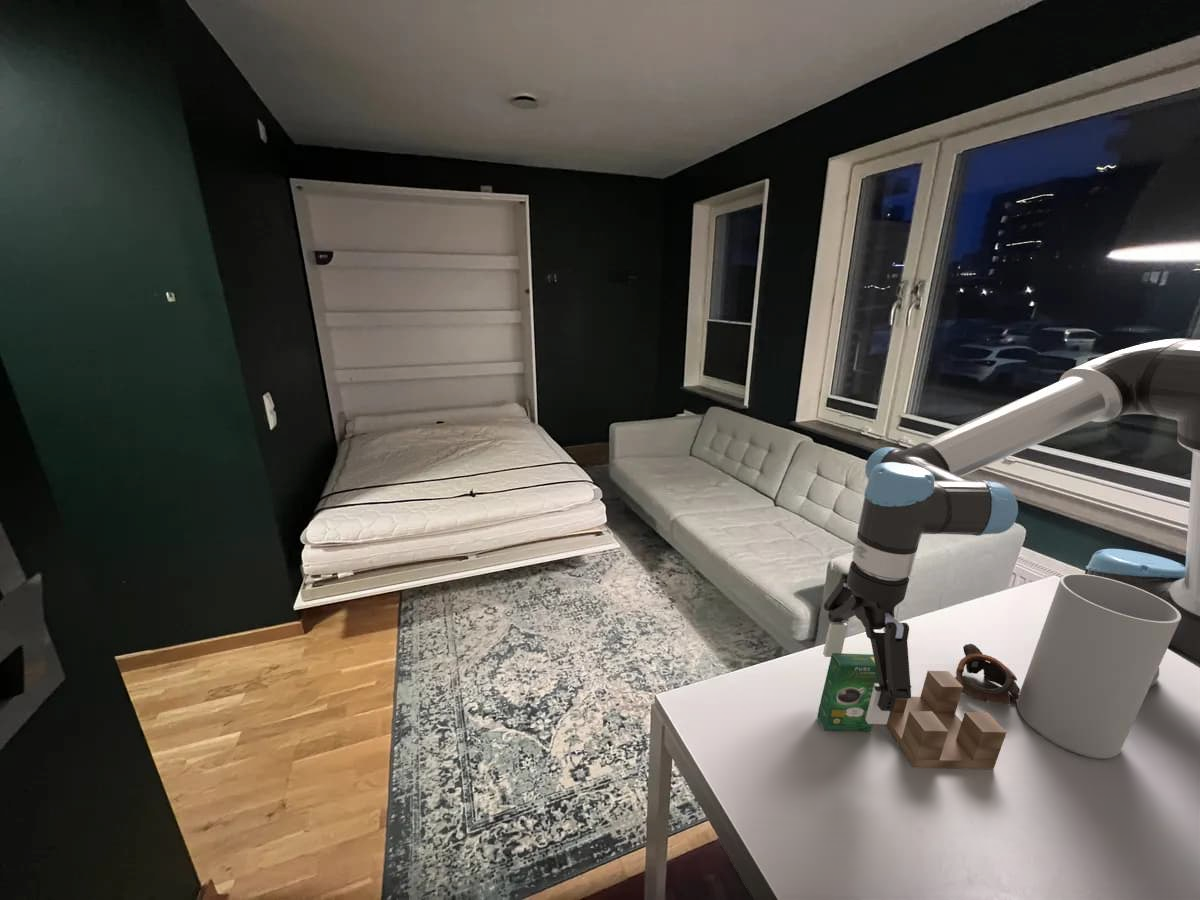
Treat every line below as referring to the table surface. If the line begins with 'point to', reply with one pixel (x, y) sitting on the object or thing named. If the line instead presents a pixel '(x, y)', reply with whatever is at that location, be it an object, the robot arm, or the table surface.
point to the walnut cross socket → (944, 728)
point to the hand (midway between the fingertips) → (851, 686)
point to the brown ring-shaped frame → (986, 677)
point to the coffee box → (847, 692)
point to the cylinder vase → (1095, 663)
